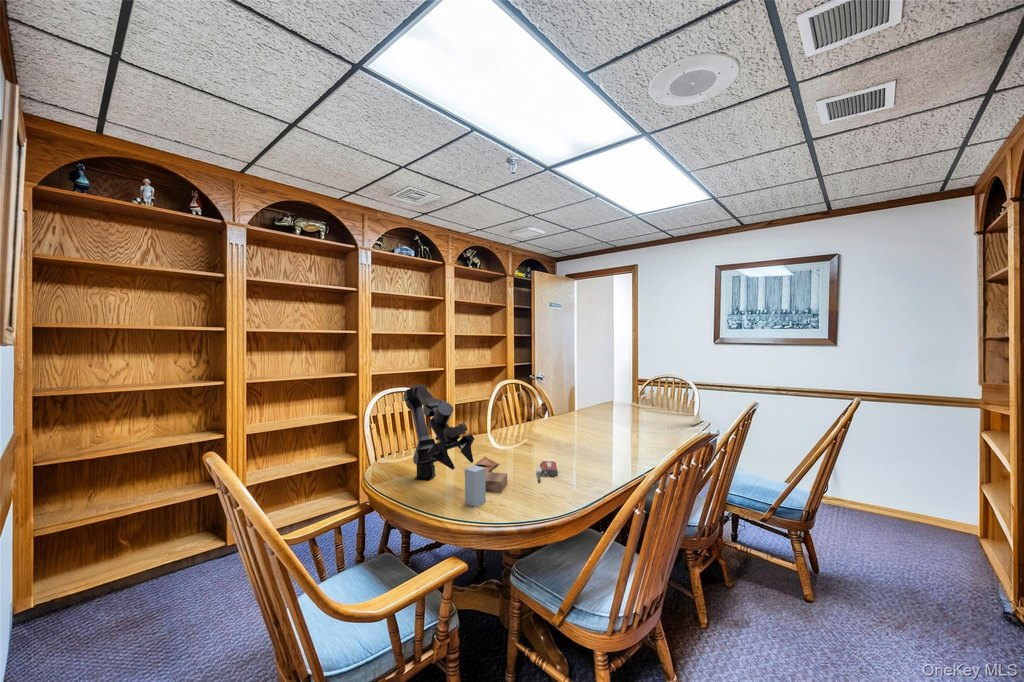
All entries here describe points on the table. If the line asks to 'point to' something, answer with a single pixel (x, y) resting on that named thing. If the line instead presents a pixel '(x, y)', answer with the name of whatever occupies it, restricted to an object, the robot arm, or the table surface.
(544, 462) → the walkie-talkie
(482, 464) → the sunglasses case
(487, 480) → the walnut base
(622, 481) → the table surface
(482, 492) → the slate block
